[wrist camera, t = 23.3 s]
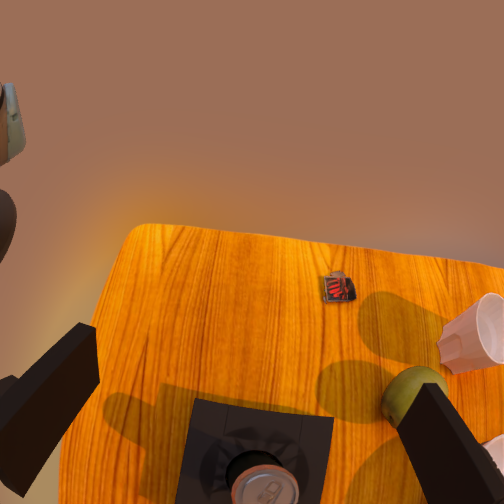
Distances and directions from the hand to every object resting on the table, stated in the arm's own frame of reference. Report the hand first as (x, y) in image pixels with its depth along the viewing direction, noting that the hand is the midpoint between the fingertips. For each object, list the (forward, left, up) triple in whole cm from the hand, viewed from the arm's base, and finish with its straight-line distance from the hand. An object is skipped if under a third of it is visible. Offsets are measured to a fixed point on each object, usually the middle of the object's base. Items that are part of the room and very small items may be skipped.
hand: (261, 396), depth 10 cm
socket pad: (+4, -7, -24) cm, 26 cm away
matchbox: (+12, +18, -24) cm, 32 cm away
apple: (+22, +3, -25) cm, 33 cm away
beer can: (+3, -7, -25) cm, 26 cm away
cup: (+33, +11, -25) cm, 42 cm away
